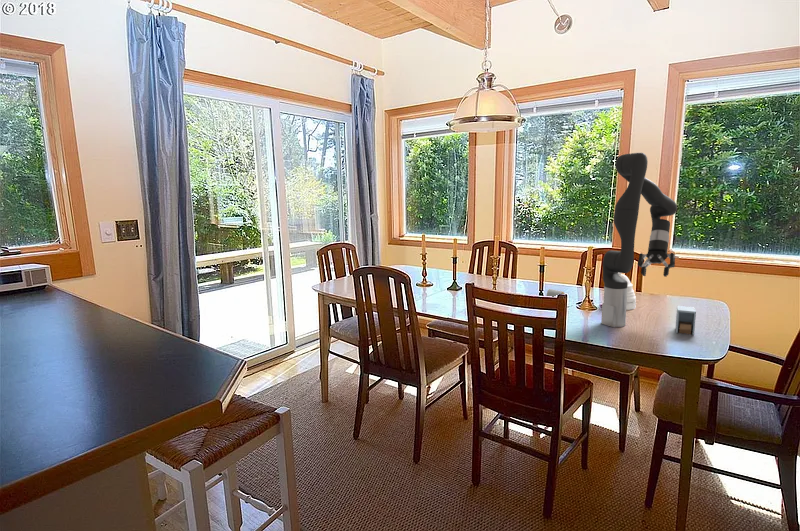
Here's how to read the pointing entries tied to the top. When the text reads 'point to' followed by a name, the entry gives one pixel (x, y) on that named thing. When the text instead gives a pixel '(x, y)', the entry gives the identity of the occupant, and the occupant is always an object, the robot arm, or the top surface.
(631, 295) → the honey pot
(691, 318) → the tall pale blue box
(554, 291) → the ceramic mug
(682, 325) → the cube
